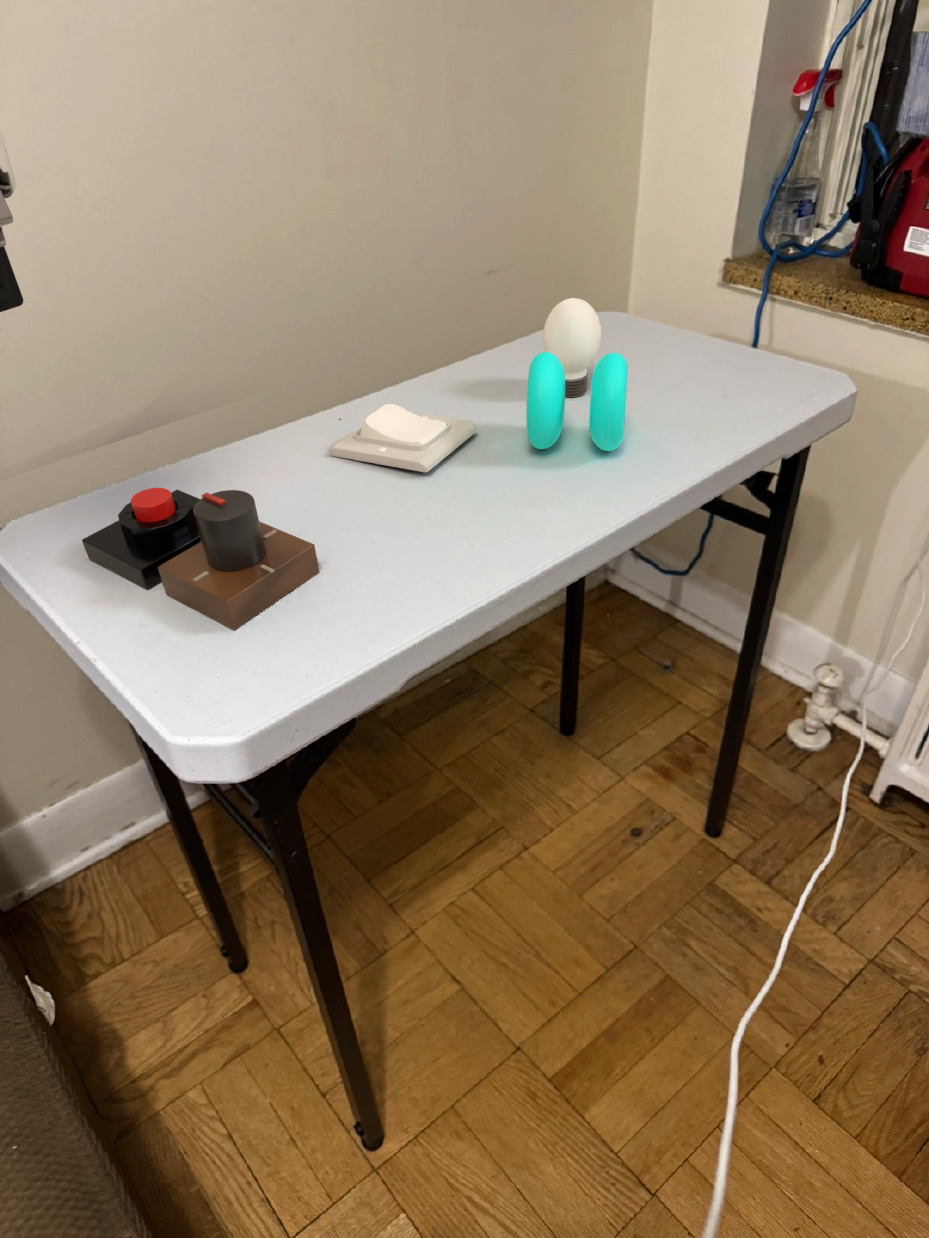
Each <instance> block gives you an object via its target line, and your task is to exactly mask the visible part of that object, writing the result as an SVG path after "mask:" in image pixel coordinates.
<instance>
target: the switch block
mask: <svg viewBox="0 0 929 1238" xmlns="http://www.w3.org/2000/svg"><path fill="white" fill-rule="evenodd" d="M170 492H171V494H172V498H173V501H174V504H175V508H176V512H175V513H174V514H173V515H171V516H169V517H167V518H166V519H164V520H160V521H155V522H139V521H137V519H136V517H135V514H134V511H133V508H132V505H131V501H130V502H129V503H127V504H125V505H124V506H123V508H122V509H121V510H120V511H119V512H118V514H117V518H118V520H116V521H115V522H112V523H111V524H108V525H107V526H104V527H103V528H101V529H99V530H97V531H96V532H93V533H92V534H89V535H88V536H86V537H84V538H81V542H82V545H83V546H84V550H85V553H86V555H87V558H88V559H89V560H90V561H92V562H93V563H95V564H97V565H98V566H99V565H100V566H101V567H103V568H105V569H107V570H109V571H111V572H112V573H114V574H117V575H118V576H120V577H122V578H124V579H125V580H128V581H129V582H131V583H133V584H135V585H137V586H139V587H141V588H143V589H145V590H146V591H148V590H150V589H152V588H153V587H155V586H157V585H159V584H160V583H163V582H162V579H161V576H160V573H159V570H158V567H159V566H160V565H162V564H164V563H165V562H167V561H169V560H171V559H172V558H174V557H176V556H177V555H179V554H181V553H183V552H184V551H186V550H188V549H189V548H191V547H193V546H195V545H196V544H198V543H200V542H201V537H200V534H199V530H198V527H197V523H196V520H195V516H194V512H193V509H194V506H195V504H196V503H197V502H198V501H199V500H201V499H202V498H199V497H197V496H194V495H192V494H189V493H187V492H184V491H182V490H179V489H175V490H173V491H170Z"/></svg>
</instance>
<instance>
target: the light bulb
mask: <svg viewBox="0 0 929 1238" xmlns="http://www.w3.org/2000/svg"><path fill="white" fill-rule="evenodd" d="M600 321H601V320H600V319H599V316H598V314H597V311H596V310H595V309H594V308H593V306H592V305H591V304H590V303H589V302H587V301H586V300H584V299H581V298H578V297H576V298H575V297H570V298H566V299H563V300H562V301H560V302H559V303H557V304H556V305H555V306H554V307H553V308H552V309H551V311H550V312H549V313H548V316H547V318H546V320H545V324H544V328H543V346H544V352H549V353H552V354H554V355H555V356H556V357H557V358H558V359H559V360H560V362H561V364H562V366H563V369H564V373H565V398H576V397H581V396H583V395H585V394H586V393H587V392H588V382H589V379H588V378H589V372H588V367H590V366H591V364H592V363H593V362H594V360H595V359H596V357H597V355H598V353H599V351H600V347H601V343H602V327H601V322H600Z"/></svg>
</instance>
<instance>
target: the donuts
mask: <svg viewBox="0 0 929 1238" xmlns="http://www.w3.org/2000/svg"><path fill="white" fill-rule="evenodd" d="M528 369H529V370H528V376H527V388H526V410H525V413H526V415H525V416H526V417H525V418H526V419H525V420H526V433H527V435H526V436H527V438H528V442H529V443H530V444H531V445H532V447H534V448H536V449H539V450H545V449H546V450H547V449H549V448H551V447H552V446H554V445H555V444H556V442H557V441H558V439H559V438H560V436H561V434H562V431H563V427H564V420H565V419H564V418H565V405H566V404H565V403H566V402H565V401H566V397H565V373H564V369H563V366H562V364H561V362H560V360H559V359H558V358H557V357H556V356H555V355H554V354H552V353H549V352H545V351H541V352H539V353H537V354H536V355H535V356H534V357H533V358H532V359H531V362H530V366H529V368H528ZM627 386H628V362H627V359H626V358H625V357H624V355H622V354H620V353H618V352H609V353H607V354H604V355H603V356H602V357H601V358H600V359H599V360H598V361H597V363H596V365H595V366H594V369H593V372H592V376H591V385H590V396H589V397H590V400H589V419H588V420H589V422H588V423H589V426H588V427H589V435H590V437H591V439H592V441H593V443H594V444H595V446H596V447H598V449H600V450H602V451H604V452H611V451H614V450H617V449H618V448H619V447H620V446H621V444H622V443H623V440H624V433H625V421H626V420H625V419H626V406H627V405H626V404H627V389H628V388H627Z"/></svg>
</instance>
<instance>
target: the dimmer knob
mask: <svg viewBox="0 0 929 1238" xmlns="http://www.w3.org/2000/svg"><path fill="white" fill-rule="evenodd" d="M200 499H201V500H199V501H198V502H197V503H196V504H195V506H194V509H193V512H194V516H195V520H196V523H197V527H198V530H199V534H200V537H201V541H202V544H203V548H204V551H205V555H206V559H207V562H208V564H209V565H210V566H211V567H212V568H214V569H217V570H221V571H237V570H242V569H245V568H248V567H250V566H253V565H254V564H256V563H258V562H259V561H260V560H261V559H262V558H263V556H264V555H265V551H266V549H265V544H264V540H263V536H262V531H261V527H260V523H259V521H260V519H259V514H258V509H257V506H256V501H255V498H254V496H253V495H252V494H251V493H249V492H247V491H244V490H239V489H229V490H228V489H225V490H220V491H216V492H213V493H209V492H208V491H207V492H204V493H203V494H201V498H200Z"/></svg>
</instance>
